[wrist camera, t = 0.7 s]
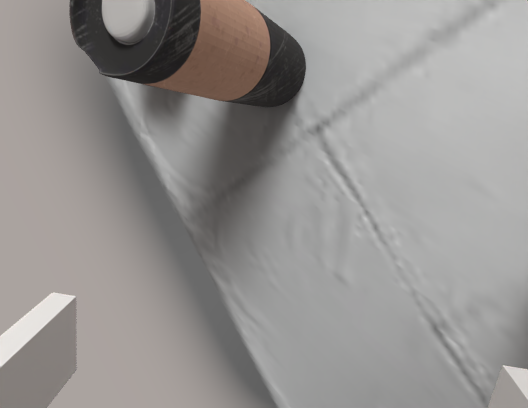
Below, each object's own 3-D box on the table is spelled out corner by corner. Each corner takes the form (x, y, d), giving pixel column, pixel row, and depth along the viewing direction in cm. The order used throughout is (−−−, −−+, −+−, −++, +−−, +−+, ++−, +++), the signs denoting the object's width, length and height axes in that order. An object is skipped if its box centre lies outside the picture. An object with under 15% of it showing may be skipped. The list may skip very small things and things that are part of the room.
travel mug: (310, 24, 37) (173, -90, 20) (307, 109, 39) (175, 75, 21) (237, 32, 41) (63, -58, 23) (237, 110, 42) (70, 82, 24)
